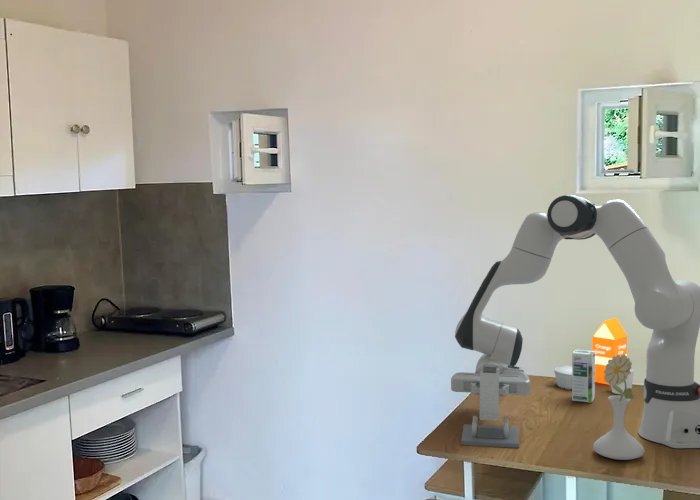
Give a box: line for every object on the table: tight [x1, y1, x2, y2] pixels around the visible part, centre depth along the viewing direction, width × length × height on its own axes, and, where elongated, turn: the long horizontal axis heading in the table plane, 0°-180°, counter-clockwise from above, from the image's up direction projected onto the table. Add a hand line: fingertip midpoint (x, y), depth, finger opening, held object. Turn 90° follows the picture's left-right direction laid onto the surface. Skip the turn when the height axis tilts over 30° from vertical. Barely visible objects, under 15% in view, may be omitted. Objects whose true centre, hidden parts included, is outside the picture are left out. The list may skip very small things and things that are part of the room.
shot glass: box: [610, 368, 635, 396], centre depth 235 cm, size 7×7×7 cm
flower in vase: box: [592, 354, 645, 461], centre depth 180 cm, size 13×11×25 cm
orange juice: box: [591, 317, 628, 386], centre depth 247 cm, size 8×9×20 cm
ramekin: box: [554, 365, 572, 390], centre depth 242 cm, size 11×11×5 cm
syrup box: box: [571, 349, 596, 404], centre depth 227 cm, size 6×6×14 cm
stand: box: [460, 415, 520, 449], centre depth 196 cm, size 14×13×4 cm
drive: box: [479, 367, 500, 421], centre depth 195 cm, size 5×6×12 cm
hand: (489, 392), depth 194 cm, fingers closed on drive, 5 cm apart
